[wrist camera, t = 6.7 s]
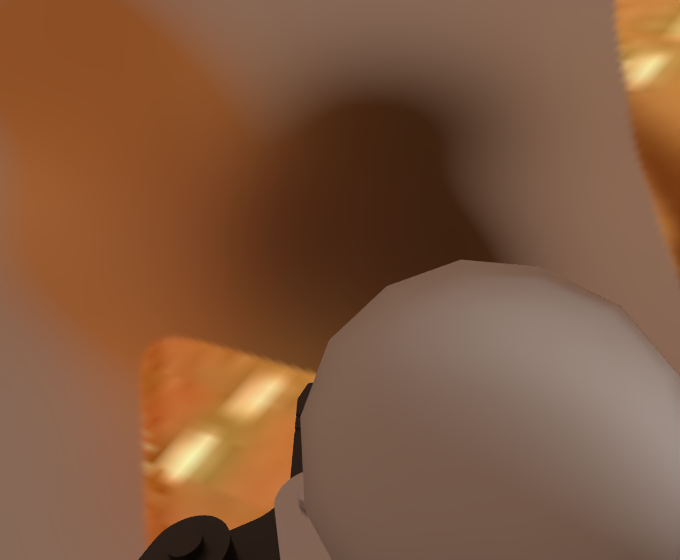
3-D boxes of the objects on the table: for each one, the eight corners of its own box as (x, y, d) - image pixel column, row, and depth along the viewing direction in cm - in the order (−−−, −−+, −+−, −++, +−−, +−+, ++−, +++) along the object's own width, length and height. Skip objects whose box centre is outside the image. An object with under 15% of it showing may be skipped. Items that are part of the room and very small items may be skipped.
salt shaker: (578, 458, 17) (945, 345, 5) (484, 641, 16) (692, 1042, 4) (409, 356, 19) (397, 98, 7) (310, 513, 18) (89, 525, 6)
